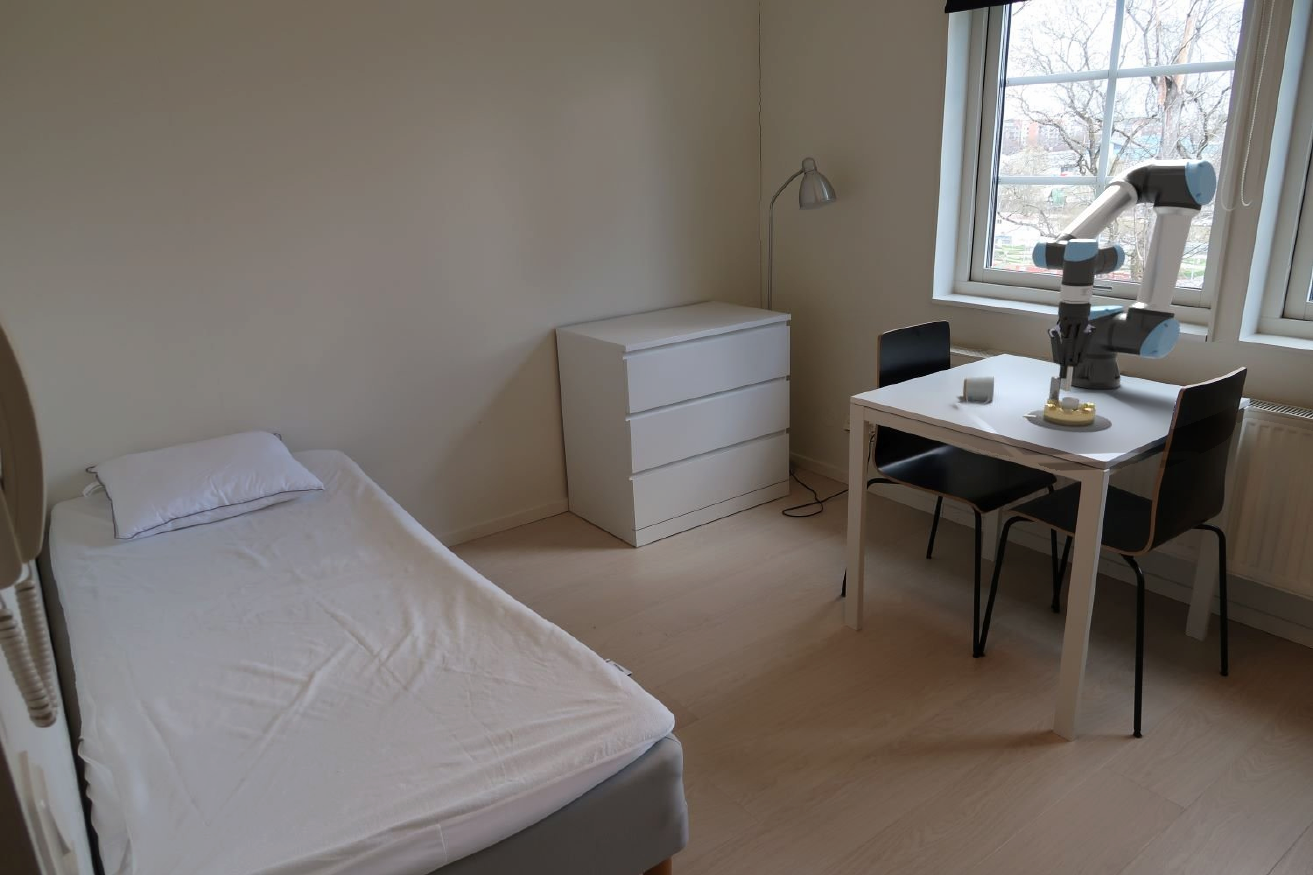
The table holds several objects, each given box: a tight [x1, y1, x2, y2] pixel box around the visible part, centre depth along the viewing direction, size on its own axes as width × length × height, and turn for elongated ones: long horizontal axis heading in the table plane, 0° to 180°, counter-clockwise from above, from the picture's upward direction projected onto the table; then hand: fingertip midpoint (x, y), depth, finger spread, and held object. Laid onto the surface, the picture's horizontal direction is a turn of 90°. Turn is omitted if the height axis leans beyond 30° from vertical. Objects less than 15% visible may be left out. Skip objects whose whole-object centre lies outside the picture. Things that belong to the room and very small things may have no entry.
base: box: [1022, 396, 1113, 433], centre depth 224 cm, size 20×20×7 cm
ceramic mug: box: [962, 376, 995, 405], centre depth 245 cm, size 11×8×8 cm
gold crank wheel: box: [1043, 376, 1097, 426], centre depth 226 cm, size 16×12×9 cm
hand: (1065, 389), depth 232 cm, fingers closed
